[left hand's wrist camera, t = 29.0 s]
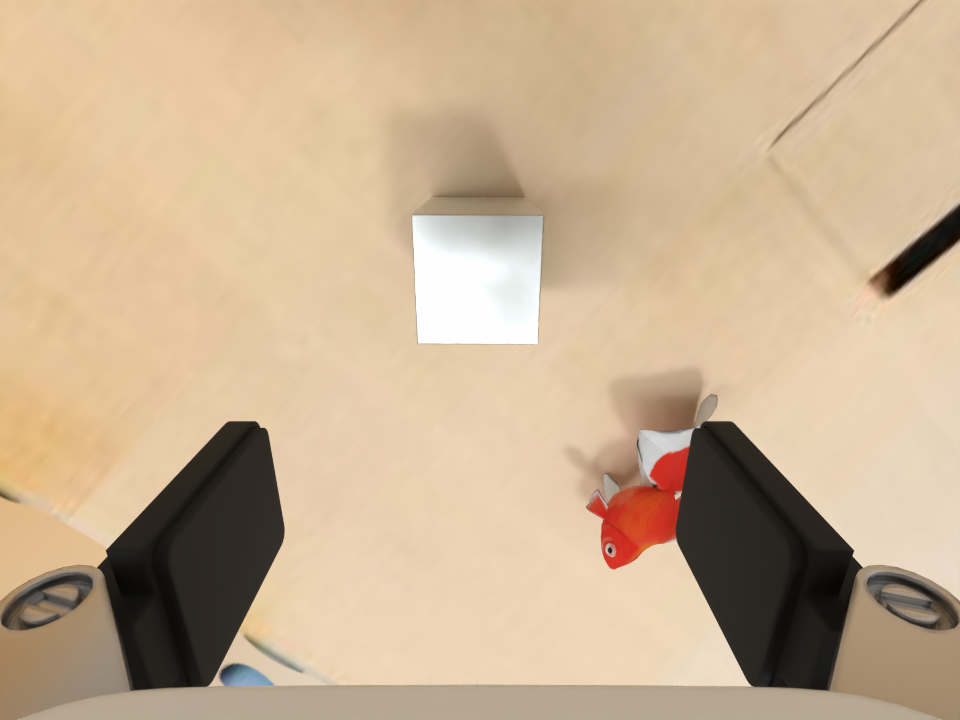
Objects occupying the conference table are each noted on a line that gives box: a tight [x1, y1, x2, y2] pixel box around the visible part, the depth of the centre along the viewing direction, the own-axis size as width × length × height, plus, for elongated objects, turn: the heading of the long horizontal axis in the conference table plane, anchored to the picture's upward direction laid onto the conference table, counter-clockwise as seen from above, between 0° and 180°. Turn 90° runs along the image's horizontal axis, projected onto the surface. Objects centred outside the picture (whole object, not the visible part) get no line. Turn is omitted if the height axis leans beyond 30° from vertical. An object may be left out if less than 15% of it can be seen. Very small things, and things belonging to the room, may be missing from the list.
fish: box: [586, 394, 717, 570], centre depth 41 cm, size 11×16×10 cm
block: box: [412, 197, 544, 344], centre depth 33 cm, size 7×7×12 cm
